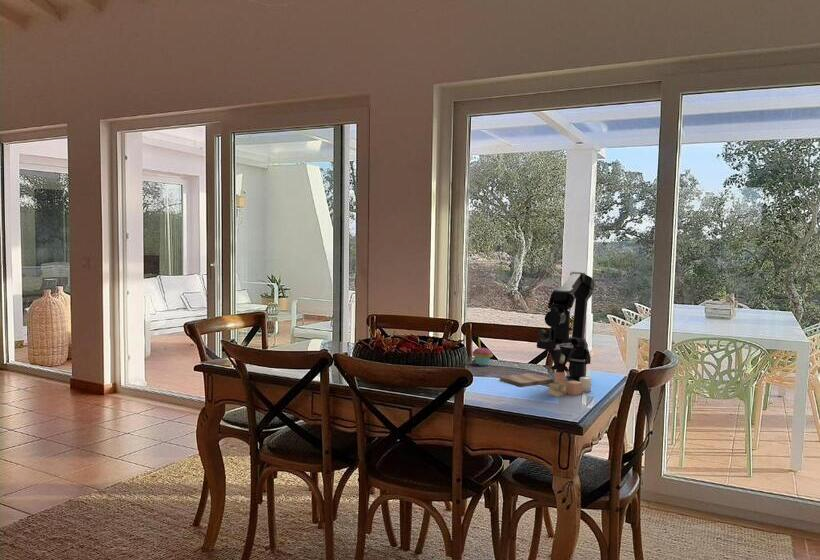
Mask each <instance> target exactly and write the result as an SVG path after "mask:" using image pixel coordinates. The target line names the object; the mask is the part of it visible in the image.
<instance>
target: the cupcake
mask: <svg viewBox="0 0 820 560" xmlns="http://www.w3.org/2000/svg"><path fill="white" fill-rule="evenodd" d="M477 340H478V341H477V342H478V347H477V348H476V349H473V351H472V356H473V357H474V359H475V362H476V363H475V364H476V365H477V364H479V365H478V366H488V365H489V362H490V359H491V358H492V357H493V356H494V353H493V351H492V350H490V349H489V348H486V347H482V346H481V339H480V337H479V335H478V339H477Z"/></svg>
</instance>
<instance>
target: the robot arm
mask: <svg viewBox="0 0 820 560" xmlns="http://www.w3.org/2000/svg"><path fill="white" fill-rule="evenodd" d="M595 283H596V282H595V280H594V279H593V278H592V276H589V275H588V274H586V273H585V272H583V271H575V270H574V271H570V274H569V276H568V278H567V279H566V280H565V281H564V283H563V285H561V286H558V287H556V288H554V289H553V291H552V292H551V294H550V298H549V301H548V304H547V309H550V311H547V313H546V314H545V316H544V322H545V324H546V325H547V326H548V327H550V329H549V330H546V329H545V328H544V329H543V328H542V329H538V333H537V337H538V338H539V340H537V341H536V349H541V350H546V351H548V353H549V354H550V356H551V359H552V362H553V365H555V367H556V368H558V365H559V362H560V357H561V354H563V355H565V361H564V363H563V364H564V365H566V366H567V363H568V370H569V374H570V376H567V374H565V378H569V379H572V380H575V381H580V377H588V376H587V365H590V364H591V363H592V362H591V359H592V357H591V353H590V351H589V345H588V343H587V340H586V338H585V333H586V332H585V331H586V324H587V323H586V321H587V312H588V302H589V299H591V297H592V295H593V292H594V290H595V286H596V284H595ZM573 306H574V310H573V311H574V313H573V324H572V327H570V321H571V309H572V308H573ZM570 331H572V335H571V336H570Z"/></svg>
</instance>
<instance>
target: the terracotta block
mask: <svg viewBox="0 0 820 560" xmlns="http://www.w3.org/2000/svg"><path fill="white" fill-rule="evenodd" d="M565 384H566V392H565V394H568V395H572V396H576V395H577V396H578V395H581V394H582V393H583V391H582V383H581V382H580V381H578V380H569V381H568V380H567V381H565Z"/></svg>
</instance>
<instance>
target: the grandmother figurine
mask: <svg viewBox="0 0 820 560" xmlns="http://www.w3.org/2000/svg"><path fill="white" fill-rule="evenodd" d="M564 361H565V355H563V354H561V357H560V362H559V365H558V368H556V367H555V365H554V364H553V365H552V366H551V367H550V369H549V373H550V374H553V372H554V371H555V374H554V382H559V383H563V384H566V375H567V376H570V374H569V367H568V366H567V364H566V365H564V364H563V363H564Z"/></svg>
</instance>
